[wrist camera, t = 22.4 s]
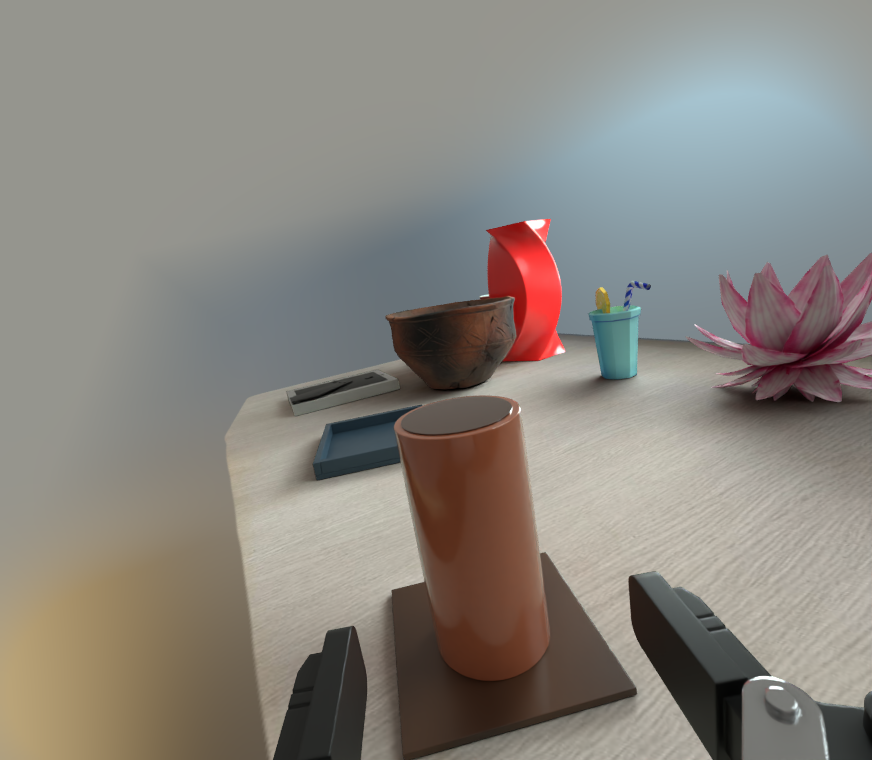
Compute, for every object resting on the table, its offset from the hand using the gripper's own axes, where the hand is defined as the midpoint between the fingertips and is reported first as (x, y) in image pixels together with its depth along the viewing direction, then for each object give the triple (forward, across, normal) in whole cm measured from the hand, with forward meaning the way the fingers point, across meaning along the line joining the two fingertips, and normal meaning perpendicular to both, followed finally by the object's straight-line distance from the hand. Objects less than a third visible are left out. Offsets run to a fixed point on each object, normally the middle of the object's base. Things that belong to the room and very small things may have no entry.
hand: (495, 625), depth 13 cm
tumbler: (+10, 0, +10) cm, 14 cm away
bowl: (+73, -6, +11) cm, 74 cm away
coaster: (+11, 0, +10) cm, 15 cm away
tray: (+46, +9, +11) cm, 48 cm away
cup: (+57, -30, +11) cm, 66 cm away
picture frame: (+80, +19, +11) cm, 83 cm away
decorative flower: (+38, -42, +10) cm, 58 cm away
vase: (+87, -23, +11) cm, 90 cm away
